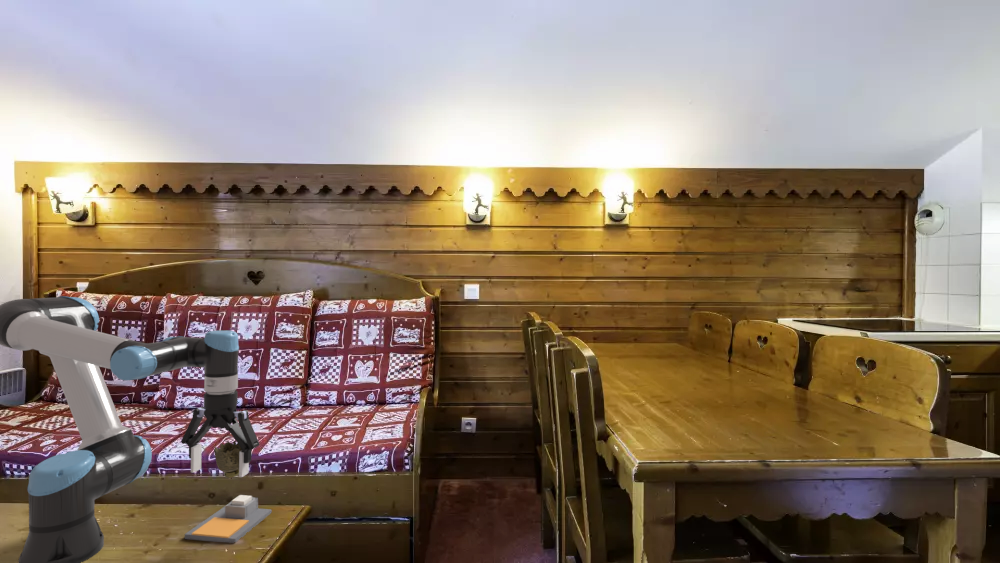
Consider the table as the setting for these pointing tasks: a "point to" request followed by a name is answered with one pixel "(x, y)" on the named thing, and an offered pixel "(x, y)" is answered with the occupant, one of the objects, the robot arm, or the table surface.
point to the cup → (228, 458)
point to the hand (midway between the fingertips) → (219, 472)
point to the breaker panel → (229, 523)
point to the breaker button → (241, 500)
